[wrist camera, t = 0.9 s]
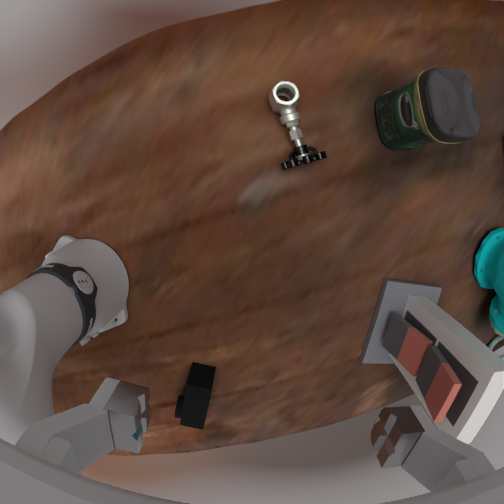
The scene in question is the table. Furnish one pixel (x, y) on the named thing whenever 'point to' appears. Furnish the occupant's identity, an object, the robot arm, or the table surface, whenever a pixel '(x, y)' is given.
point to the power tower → (451, 346)
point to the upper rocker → (437, 383)
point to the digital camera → (196, 396)
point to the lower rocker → (406, 344)
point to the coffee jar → (429, 111)
